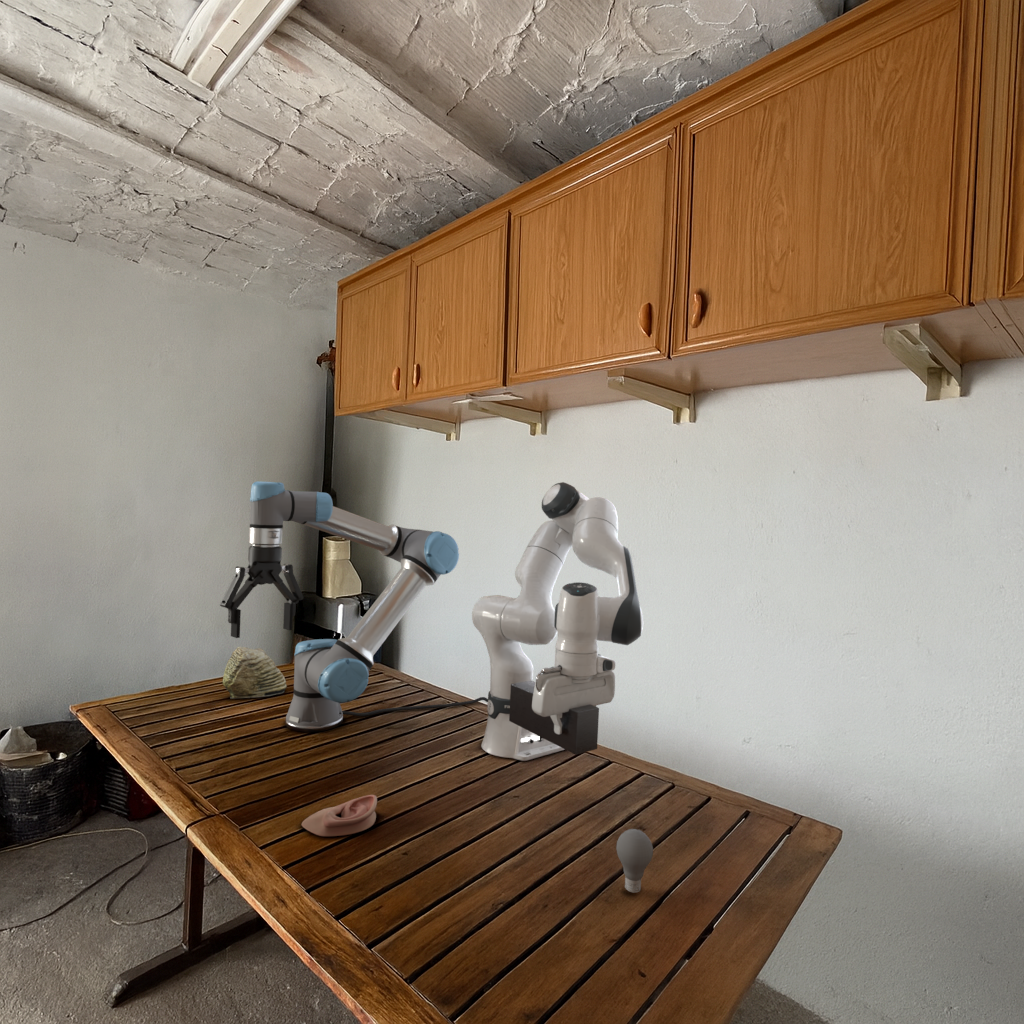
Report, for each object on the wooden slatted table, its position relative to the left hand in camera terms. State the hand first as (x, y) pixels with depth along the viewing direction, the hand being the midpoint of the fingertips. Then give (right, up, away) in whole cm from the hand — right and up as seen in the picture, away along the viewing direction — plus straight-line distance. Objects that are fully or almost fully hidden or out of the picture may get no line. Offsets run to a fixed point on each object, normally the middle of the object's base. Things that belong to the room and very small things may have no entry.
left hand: (262, 633), depth 153 cm
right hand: (+73, -16, -23) cm, 78 cm away
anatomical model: (+27, -31, -30) cm, 51 cm away
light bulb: (+81, -34, -48) cm, 100 cm away
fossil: (-20, -28, +45) cm, 57 cm away
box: (+69, -18, -17) cm, 73 cm away
